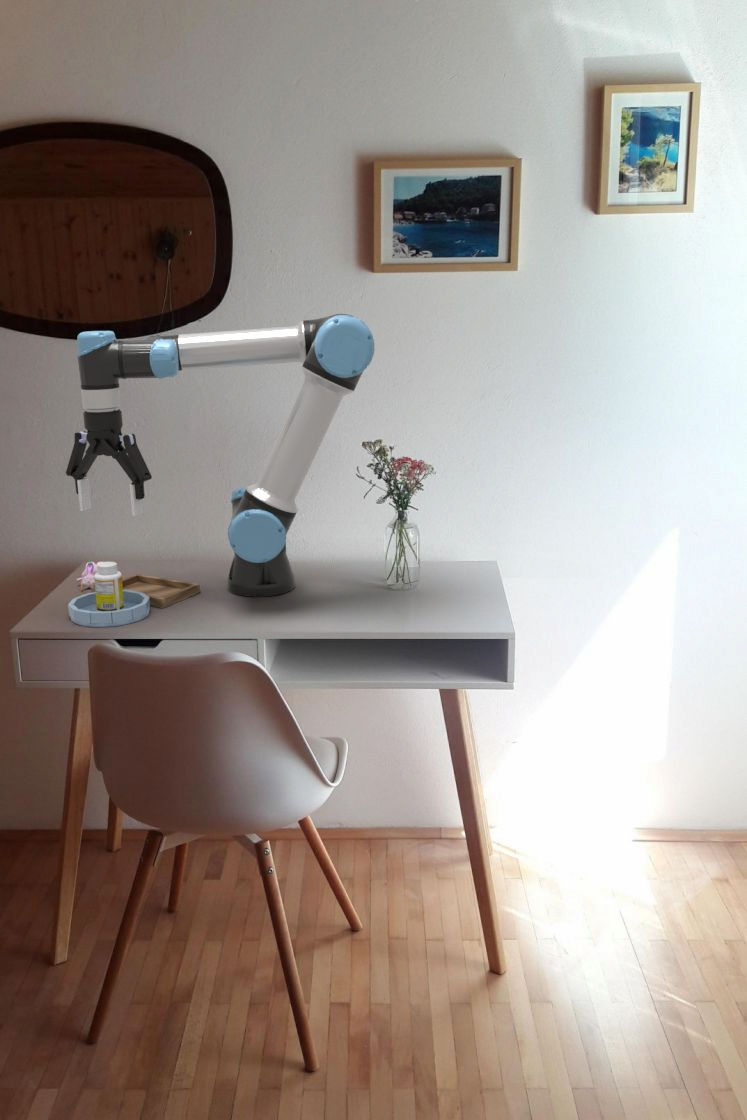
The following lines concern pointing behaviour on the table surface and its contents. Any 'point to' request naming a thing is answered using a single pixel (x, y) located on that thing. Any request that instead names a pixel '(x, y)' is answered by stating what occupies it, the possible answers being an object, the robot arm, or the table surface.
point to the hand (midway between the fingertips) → (111, 512)
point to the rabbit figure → (89, 576)
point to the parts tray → (160, 589)
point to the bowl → (87, 614)
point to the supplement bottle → (108, 587)
